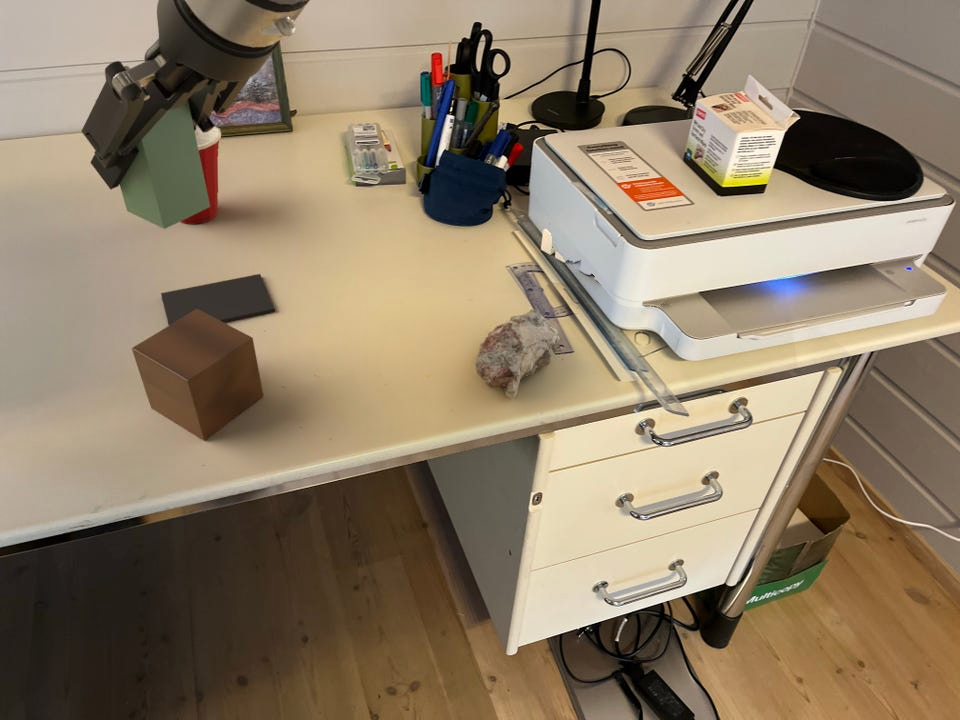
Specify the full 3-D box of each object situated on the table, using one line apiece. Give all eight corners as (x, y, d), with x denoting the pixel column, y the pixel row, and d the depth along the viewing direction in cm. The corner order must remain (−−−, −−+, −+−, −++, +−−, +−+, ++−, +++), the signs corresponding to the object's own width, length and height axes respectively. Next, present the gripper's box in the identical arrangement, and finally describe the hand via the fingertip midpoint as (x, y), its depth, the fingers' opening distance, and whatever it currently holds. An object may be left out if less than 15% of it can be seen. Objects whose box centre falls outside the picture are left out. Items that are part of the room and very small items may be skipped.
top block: (164, 229, 64) (135, 116, 58) (126, 211, 66) (94, 99, 60) (210, 206, 68) (187, 97, 61) (173, 190, 70) (147, 82, 63)
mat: (170, 334, 86) (169, 330, 86) (161, 296, 92) (160, 293, 91) (275, 311, 91) (274, 308, 90) (260, 276, 96) (260, 273, 96)
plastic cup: (222, 189, 113) (207, 111, 105) (246, 221, 106) (231, 141, 98) (147, 205, 108) (125, 125, 100) (167, 240, 101) (145, 157, 94)
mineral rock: (523, 318, 92) (526, 288, 89) (578, 345, 88) (583, 315, 86) (445, 379, 83) (446, 348, 80) (503, 412, 79) (506, 381, 76)
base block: (204, 441, 74) (188, 381, 69) (150, 407, 77) (131, 348, 72) (264, 396, 79) (252, 337, 74) (211, 367, 82) (197, 308, 77)
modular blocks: (540, 249, 104) (543, 224, 102) (573, 233, 108) (576, 209, 105) (656, 315, 94) (662, 289, 91) (687, 295, 98) (694, 269, 95)
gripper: (153, 90, 44) (67, 241, 61) (356, 21, 56) (236, 164, 73) (69, -26, 43) (6, 161, 60) (296, -72, 54) (188, 96, 72)
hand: (132, 162), depth 66 cm, fingers closed on top block, 5 cm apart
